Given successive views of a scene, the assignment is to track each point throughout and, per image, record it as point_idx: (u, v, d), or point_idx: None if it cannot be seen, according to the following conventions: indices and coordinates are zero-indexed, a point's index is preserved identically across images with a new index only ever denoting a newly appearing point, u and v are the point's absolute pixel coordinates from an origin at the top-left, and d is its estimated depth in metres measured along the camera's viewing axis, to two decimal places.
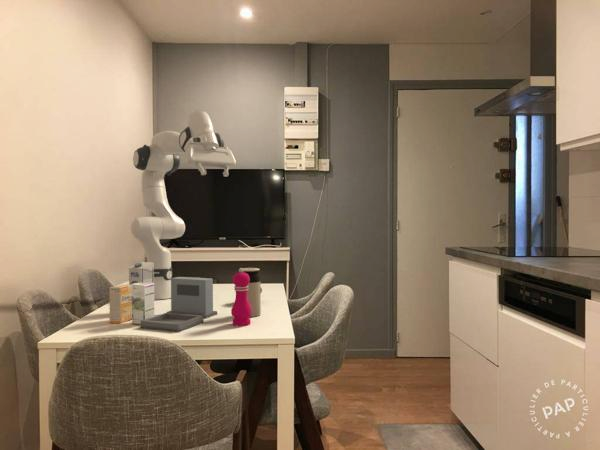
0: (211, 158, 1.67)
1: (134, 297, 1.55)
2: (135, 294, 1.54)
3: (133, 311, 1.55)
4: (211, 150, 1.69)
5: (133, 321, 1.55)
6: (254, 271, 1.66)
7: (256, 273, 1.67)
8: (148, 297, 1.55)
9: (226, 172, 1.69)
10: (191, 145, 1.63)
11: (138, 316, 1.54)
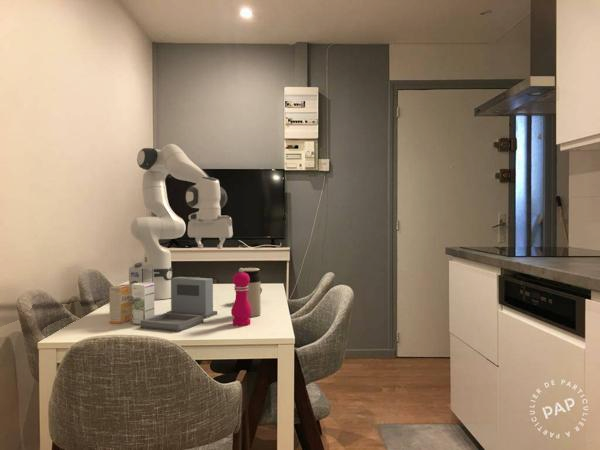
0: (206, 233, 1.81)
1: (134, 297, 1.55)
2: (135, 294, 1.54)
3: (133, 311, 1.55)
4: (208, 224, 1.81)
5: (133, 321, 1.55)
6: (254, 271, 1.66)
7: (256, 273, 1.67)
8: (148, 297, 1.55)
9: (218, 246, 1.80)
10: (189, 222, 1.83)
11: (138, 316, 1.54)
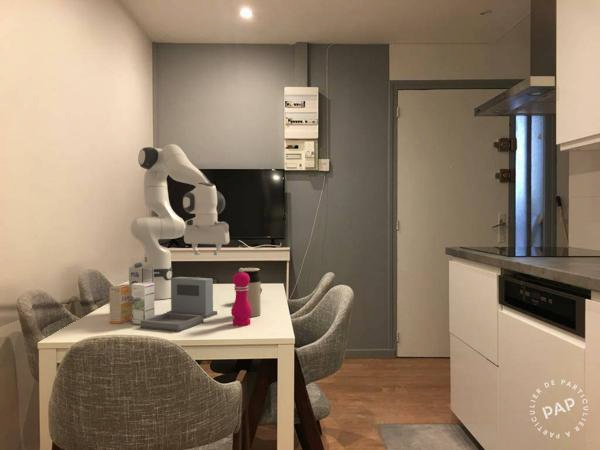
0: (202, 240, 1.79)
1: (134, 297, 1.55)
2: (135, 294, 1.54)
3: (133, 311, 1.55)
4: (204, 230, 1.78)
5: (133, 321, 1.55)
6: (254, 271, 1.66)
7: (256, 273, 1.67)
8: (148, 297, 1.55)
9: (215, 253, 1.78)
10: (186, 228, 1.81)
11: (138, 316, 1.54)
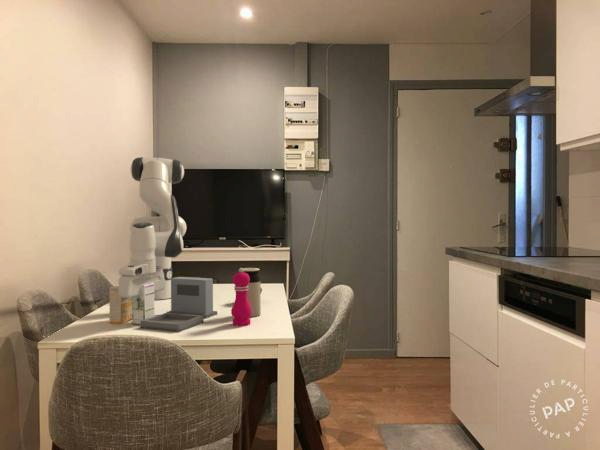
0: None
1: None
2: None
3: (133, 311, 1.55)
4: (147, 278, 1.56)
5: (133, 321, 1.55)
6: (254, 271, 1.66)
7: (256, 273, 1.67)
8: (148, 297, 1.55)
9: None
10: (131, 278, 1.48)
11: (138, 316, 1.54)
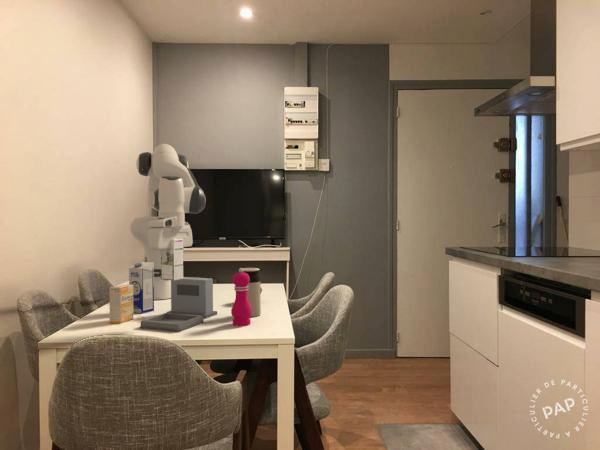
0: None
1: None
2: None
3: (162, 266, 1.51)
4: (176, 232, 1.53)
5: (162, 276, 1.51)
6: (254, 271, 1.66)
7: (256, 273, 1.67)
8: (177, 252, 1.52)
9: None
10: (162, 230, 1.45)
11: (167, 271, 1.51)
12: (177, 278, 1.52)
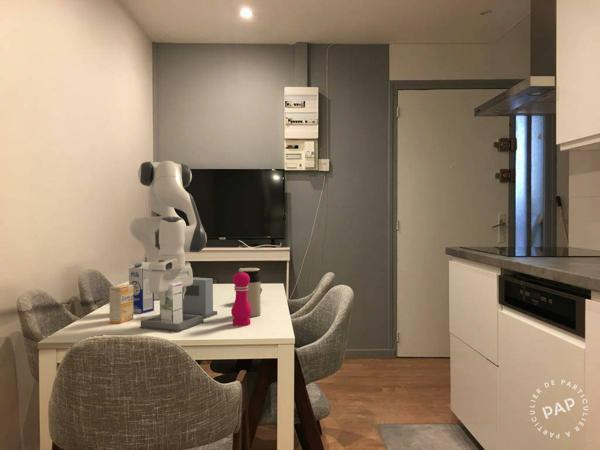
0: None
1: None
2: None
3: (161, 311, 1.51)
4: (176, 273, 1.53)
5: (161, 321, 1.51)
6: (254, 271, 1.66)
7: (256, 273, 1.67)
8: (176, 296, 1.51)
9: (182, 297, 1.57)
10: (162, 273, 1.45)
11: (166, 316, 1.50)
12: None
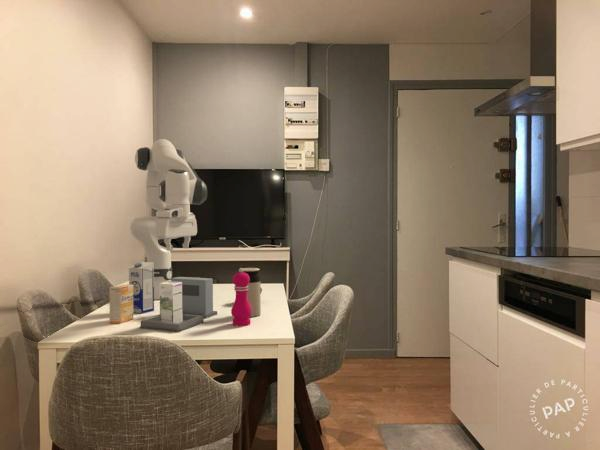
0: (180, 233, 1.62)
1: (162, 296, 1.51)
2: (163, 294, 1.50)
3: (161, 311, 1.51)
4: (181, 222, 1.63)
5: (161, 321, 1.51)
6: (254, 271, 1.66)
7: (256, 273, 1.67)
8: (176, 296, 1.51)
9: (187, 245, 1.68)
10: (168, 220, 1.55)
11: (166, 316, 1.50)
12: None
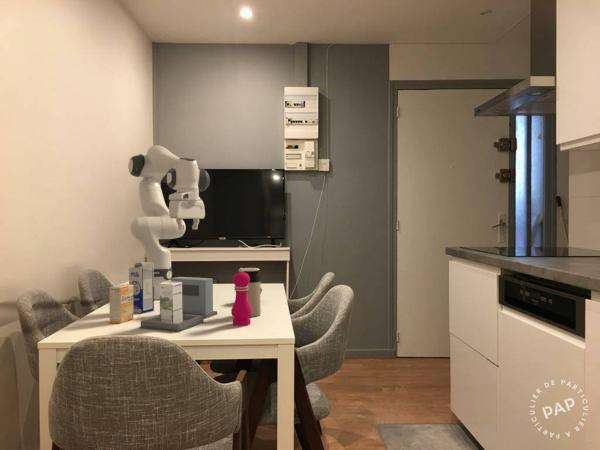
0: (190, 214, 1.80)
1: (162, 296, 1.51)
2: (163, 294, 1.50)
3: (161, 311, 1.51)
4: (191, 205, 1.81)
5: (161, 321, 1.51)
6: (254, 271, 1.66)
7: (256, 273, 1.67)
8: (176, 296, 1.51)
9: (196, 227, 1.86)
10: (180, 202, 1.73)
11: (166, 316, 1.50)
12: None
